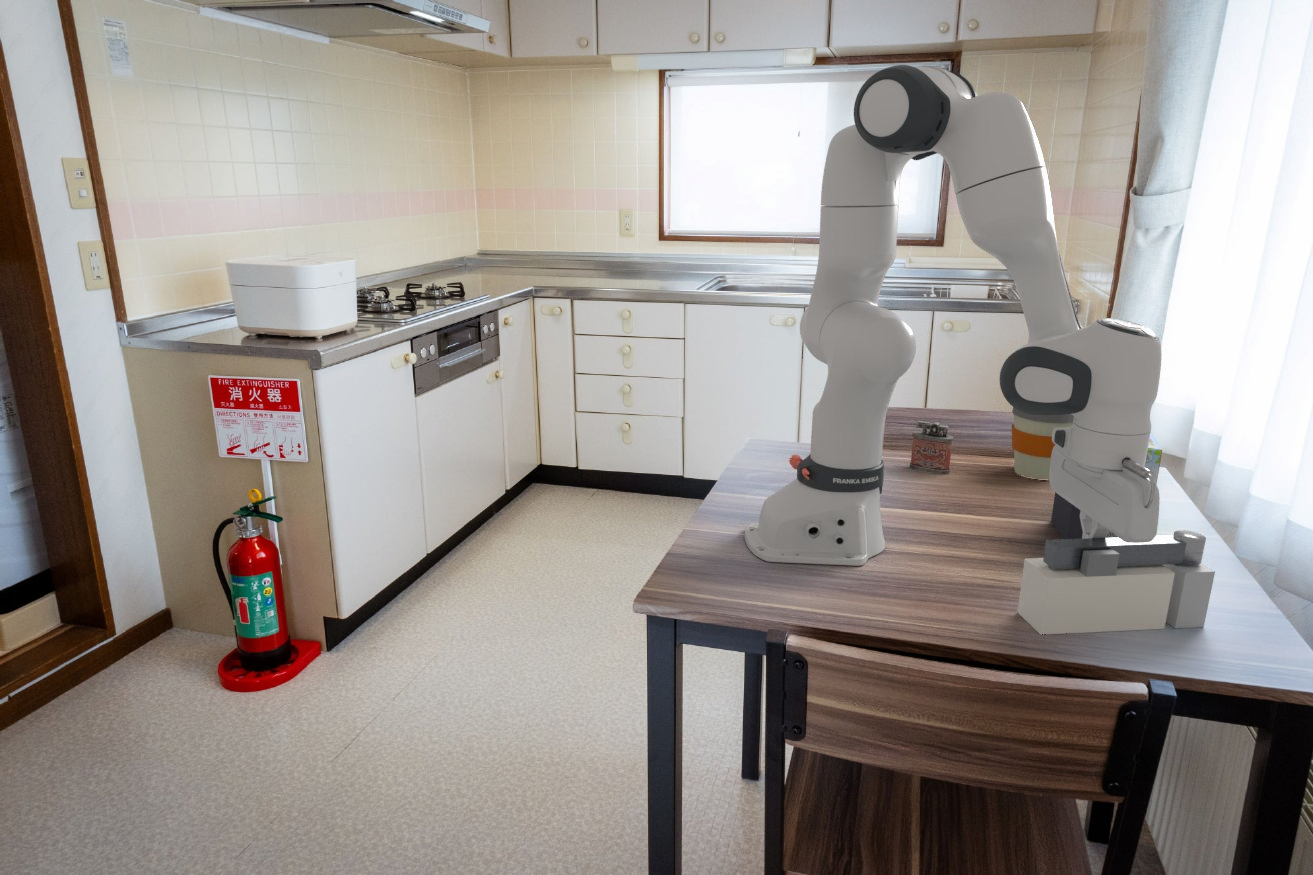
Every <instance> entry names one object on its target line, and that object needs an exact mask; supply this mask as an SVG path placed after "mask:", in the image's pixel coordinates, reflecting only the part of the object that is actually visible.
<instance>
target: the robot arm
mask: <svg viewBox="0 0 1313 875" xmlns="http://www.w3.org/2000/svg"><path fill="white" fill-rule="evenodd" d="M853 121H854V124H852V125H849V126H847V127H845V128H842V129H841V130H839V131H838V132H836V134H834V135H833V137H832V138H831V140H830V142H829V145H828V149H827V151H826V152H827V154H826V158H825V163H824V168H823V175H822V182H821V183H822V184H821V190H820V191H821V192H820V193H821V194H820V219H819V220H820V221H819V244H818V247H819V248H818V259H817V265H816V266H817V267H816V273H815V277H814V280H813V281H814V283H813V286H812V289H811V295H810V298H809V302H808V306H807V308H806V309H805V311H804V312H803V313H802V315H801V318H800V323H799V333H800V337H801V340H802V342H803V344H804V345H805V347H806V349H807V350H808V351H809V353H810V354H811V356H812V357H814V358H815V359H816V360H817V361H820V362H821V363H823V364H824V365H827V376H826V381H825V384H824V389H823V391H822V395H821V397H820V399H819V401H818V402H817V403H816V404H815V405H814V407H813V410H812V418H811V419H812V420H811V421H812V422H811V433H810V434H811V436H810V439H811V440H810V452H809V455H808V456H806V457H805V458H804V459H802V458H801V456H800V455H798V454H792V455H791V456H790V457H789V459H788V462H789V464H790V465H791V468H793V470H796V478H794V480H793V481H791V482H790V483H788V484H787V485H785V486H783V487H782V488H781V489H779V490H778V491H775V492H774V493H773V494H771V495H770V496H768V497H767V498H766V499H765V500H764V501H763V504H762V507H761V509H760V512H759V518H758V521H757V522H752V523H749V524H748V525H747V526H746V527H745V530H744V541H745V545H746V546H747V547H748V549H749V550H750V552H751V553H753V555H755V556H756V557H757V558H759V559H761V560H763V561H765V562H768V563H769V562H770V563H787V564H788V563H789V564H790V563H792V564H811V565H812V564H813V565H833V566H834V565H836V566H855V567H856V566H858V567H859V566H863V565H865V564H866V563H867V562H868V560H869V559H870V558H872V557H875V556H876V555H879V554H880V553H882V552H883V551H884V550H885V548H886V540H885V537H884V533H883V525H882V517H881V495H882V493H883V492H882V491H883V486H884V479H885V467H884V466H885V463H884V460H883V448H884V447H883V446H884V436H885V426H886V419H887V418H886V417H887V413H888V409H889V405H890V402H891V398H892V396H893V393H894V391H895V387H896V385H897V383H898V381H899V379H900V378H901V377H902V376H904V375H905V373H907V371H908V370H909V369H910V368H911V366H912V364H913V363H914V362H913V361H914V360H915V356H916V350H917V342H916V341H917V340H916V337H915V334H914V332H913V330H912V328H911V327H910V326H909V325H908V324H907V323H906V322H905V321H904V320H903V319H902V318H901V317H899V316H898V315H897V314H896V313H895V312H893V311H892V310H890V309H887V308H884V307H881V306H879V299H880V298H879V297H880V293H881V289H882V286H883V282H884V280H885V277H886V275H887V273H888V271H889V269H890V268H891V267H892V266H893V264H894V263H895V260H896V256H897V241H898V240H897V239H898V222H899V202H900V183H901V182H900V181H901V178H902V177H901V176H902V173H903V170H904V167H905V166H906V164H908V162H909V161H910V160H914V161H920V160H922V159H923V160H924V159H925V158H928V157H930V156H933V155H936V154H938V155H940V156H941V157H942V158H943V159H944V161H945V162H946V164H947V166H948V168H949V172H950V176H951V180H952V185H953V189H954V195H955V199H956V203H957V207H958V211H959V214H960V217H961V220H962V222H963V225H964V227H965V229H966V232H967V234H968V235H969V237H970V240H971V241H972V243H973V244H974V245H976V246H977V247H978V248H979V249H981V250H983V251H984V252H986V253H987V254H989V255H991V256H992V257H994V258H995V259H996V260H998V261H999V263H1001V264H1002V265H1003V266H1004V267H1005V269H1006V270H1007V271H1008V272H1009V274H1010V275H1011V278H1012V280H1013V282H1014V284H1015V287H1016V291H1017V294H1018V298H1019V301H1020V305H1021V309H1022V312H1023V315H1024V319H1025V322H1026V326H1027V329H1028V340H1027V344H1024V345H1023V346H1021V347H1020V348H1018V349H1017V350H1015V351H1014V352H1012V353H1011V354H1010V355H1009V356H1008V357H1007V358H1006V359H1005V361H1004V363H1003V365H1001V366H1002V367H1001V369H1000V373H999V386H1000V387H999V388H1000V390H1001V393H1002V395H1003V397H1004V398H1005V401H1006V402H1007V403H1008V404H1009V405H1010V406H1011V407H1012V408H1013V407H1014V408H1015V409H1017V410H1019V411H1021V412H1023V413H1026V414H1032V415H1065V414H1072V415H1073V416H1074V421H1073V427H1062V428H1055V429H1054V430H1053V433H1052V442H1053V443H1054V444H1056V445H1055V446H1054V447H1053V450H1052V454H1051V462H1050V471H1049V481H1048V482H1049V485H1050V489H1051V490H1052V491H1053V492H1054V493H1055V492H1056V493H1057V494H1059V495H1060V496H1061V497H1063V498H1064V499H1066V500H1067V501H1068V502H1070V503H1071V504H1073V505H1074V506H1075V507H1077V508H1078V509H1080V521H1081V526H1082V530H1083V535H1082V539H1087V538H1108V537H1107V536H1108V535H1109V534H1110V533H1112V534H1113V535H1115V537H1119V538H1120V539H1122V540H1123V541H1125V542H1128V543H1144V542H1150V541H1152V540H1153V539H1154V538H1155V536H1157V533H1158V528H1159V527H1158V526H1159V518H1160V517H1159V515H1160V491H1159V488H1158V484H1157V485H1156V483H1155V482H1154V480H1153V477H1152V476H1151V471H1150V470H1149V469H1147V468H1145V467H1144V465H1145V461H1146V455H1147V449H1148V444H1149V438H1150V432H1151V433H1152V422H1151V410H1152V408H1153V404H1154V403H1155V401H1156V399H1157V398H1158V397H1157V396H1158V392H1159V386H1160V379H1161V369H1162V345H1161V341H1160V338H1159V337H1158V335H1157V334H1156V333H1155V332H1154V331H1153V330H1152V329H1151V328H1149V327H1146V326H1145V325H1142V324H1140V323H1136V322H1132V321H1129V320H1125V319H1115V318H1107V317H1106V318H1099V319H1096V320H1095V321H1093V322H1092V323H1090V324H1088V325H1087V326H1083V325H1082V323H1081V322H1080V320H1079V318H1078V315H1077V312H1076V309H1075V304H1074V302H1073V299H1072V294H1071V291H1070V287H1069V283H1068V280H1067V276H1066V273H1065V272H1066V271H1065V268H1064V266H1063V261H1062V258H1061V255H1060V251H1059V246H1058V239H1057V233H1056V227H1055V226H1056V225H1055V219H1054V218H1055V217H1054V210H1053V209H1054V208H1053V202H1052V196H1051V190H1050V184H1049V178H1048V173H1047V168H1046V164H1045V161H1044V156H1043V152H1042V148H1041V145H1040V143H1039V139H1038V137H1037V134H1036V131H1035V129H1034V125H1033V123H1032V121H1031V119H1030V117H1029V114H1028V112H1027V110H1026V108H1025V105H1024V103H1023V102H1022V101H1021V100H1020V99H1019V98H1018V97H1017V96H1016V95H1014V94H1012V93H1008V92H1004V91H1003V92H1002V91H993V92H985V93H982V94H979V95H978V93H977V91H976V89H975V87H974V86H973V85H972V83H971V82H970V81H969V80H968V79H967V78H965V77H964V75H962V74H960V73H957V72H955V71H951V70H946V69H943V68H940V67H937V66H932V65H918V66H916V65H915V66H912V65H910V64H909V65H908V64H907V65H906V64H898V65H892V66H888V67H885V68H882V69H881V70H879V71H877V72H875V73H874V74H872V75H871V76H870V77H868V79H867V80H866V81H865V82H864V83H863V85H862V86H861V87H860V88H859V91H858V92H857V95H856V98H855V101H854V106H853Z"/></svg>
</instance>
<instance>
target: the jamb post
mask: <svg viewBox="0 0 1313 875" xmlns="http://www.w3.org/2000/svg"><path fill="white" fill-rule="evenodd" d="M1163 566H1165V567H1166V568H1168V569H1169V570H1171V571H1172V572H1174V573H1175V576H1174V581H1173V586H1172V591H1171V597H1170V602H1169V607H1168V612H1167V618H1166V623H1167V624H1168V625H1170V626H1171V627H1172V628H1174V629H1187V628H1188V629H1193V628H1204V627H1205V623H1206V622H1205V621H1206V618H1207V614H1208V612H1207V611H1208V608H1209V604H1210V597H1211V595H1212V594H1211V593H1212V588H1213V583H1214V578H1215V575H1216V571H1215V570H1213V569H1211V567H1208V566H1207V565H1205V564H1203V563H1202V562H1201V564H1199V565H1185V564H1169V565H1163Z"/></svg>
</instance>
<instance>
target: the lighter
mask: <svg viewBox="0 0 1313 875" xmlns="http://www.w3.org/2000/svg"><path fill="white" fill-rule="evenodd" d="M916 429H922V431H921V430H916V431H912V435H911V436H912V444H911V445H912V446H911V456H910V457H911V458H910V462H909V469H911V470H915V471H919V472H923V473H929V474H935V475H945V476H946V475H950V473H951V468H950V466H951V457H952V448H953V443H954V438H955V437H954V436H952V435H948V432H949V426H948V425H943V424H941V423H940V422H938V421H935V422H933V423H930V422H929V421H921V420H918V421H917V422H916ZM928 430H929V431H928Z"/></svg>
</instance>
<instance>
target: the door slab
mask: <svg viewBox="0 0 1313 875" xmlns="http://www.w3.org/2000/svg"><path fill="white" fill-rule="evenodd" d="M1043 559H1044V557H1032V558H1030V557H1029V558H1024V561H1023V570H1022V577H1021V584H1020V590H1019V598H1018V599H1019V600H1018V606H1017V614H1018V615H1019V616H1021V618H1022V619H1024V620H1025V621H1026V622H1027V623H1028V624H1029V626H1031V628H1033V629H1034V630H1035V631H1036V632H1037V633H1038V634H1039V635H1040V636H1041V635H1042V634H1043V635H1044V634H1046V635H1061V634H1062V635H1064V634H1066V633H1067V634H1082V633H1083V634H1085V633H1086V634H1087V633H1102V632H1103V633H1105V632H1106V633H1108V632H1122V631H1123V632H1126V631H1127V632H1128V631H1147V630H1149V631H1150V630H1152V631H1153V630H1164V629H1165V628H1166V627H1165V626H1166V623H1167V622H1166V618H1167V612H1168V607H1169V602H1170V597H1171V591H1172V586H1173V581H1174V576H1175V573H1174V572H1172V571H1171V570H1169V569H1168V568H1166V567H1165V566H1163V565H1145V566H1122V567H1117V566H1118V560H1119V553H1117V552H1116V551H1114V550H1113V549H1112V550H1086V551H1083V555H1082V562H1081V568H1075V569H1052V568H1051V567H1050V566H1048V565H1047V564H1046V563H1045V562H1043Z"/></svg>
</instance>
